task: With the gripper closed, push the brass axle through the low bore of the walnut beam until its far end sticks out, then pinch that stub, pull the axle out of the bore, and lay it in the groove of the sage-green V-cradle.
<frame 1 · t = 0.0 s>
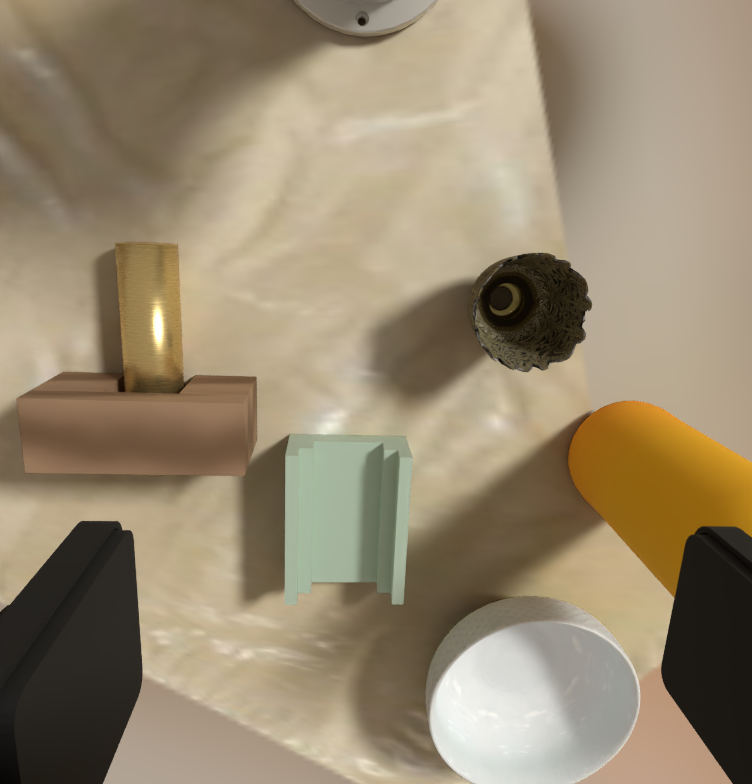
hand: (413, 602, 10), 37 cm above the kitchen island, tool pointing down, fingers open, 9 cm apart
beer bottle: (619, 451, 51), on the kitchen island
v block: (345, 505, 50), on the kitchen island
axle: (153, 359, 44), point 2 cm above the kitchen island
cereal bowl: (510, 650, 55), on the kitchen island
beam: (162, 406, 47), on the kitchen island
cup: (500, 297, 46), on the kitchen island
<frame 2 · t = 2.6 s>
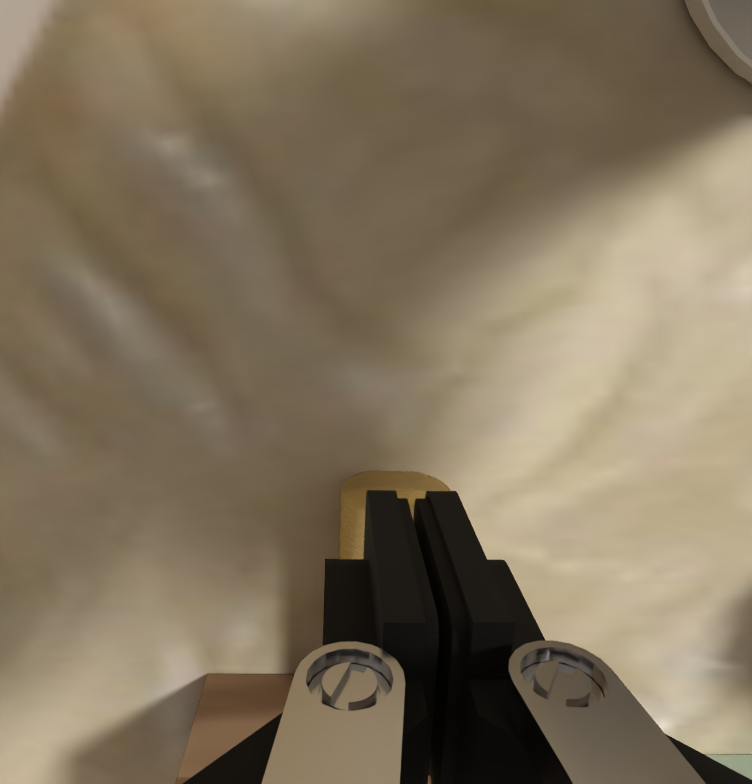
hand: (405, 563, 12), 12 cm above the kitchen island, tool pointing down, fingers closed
axle: (386, 674, 25), point 2 cm above the kitchen island, tilted 12°
beam: (369, 721, 28), on the kitchen island
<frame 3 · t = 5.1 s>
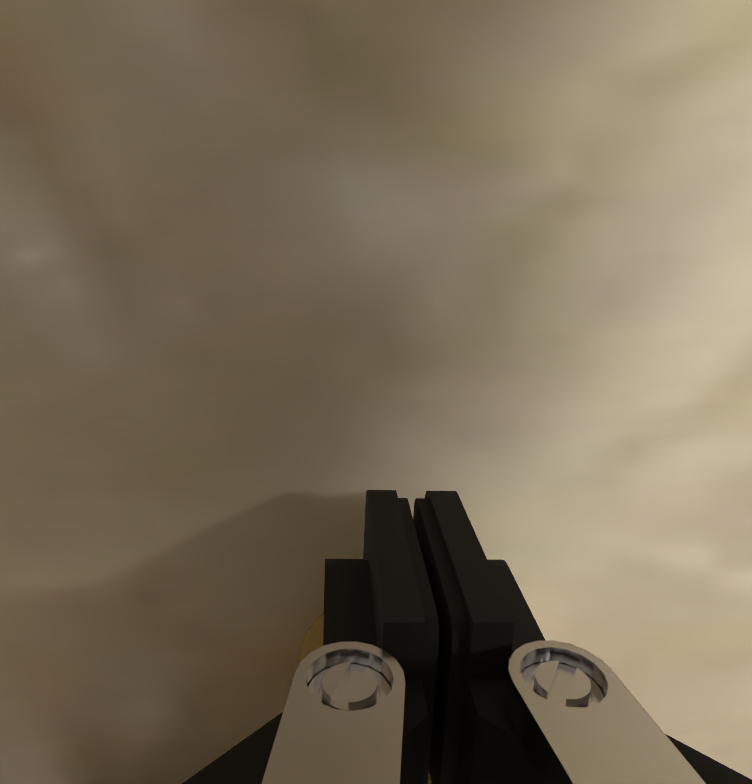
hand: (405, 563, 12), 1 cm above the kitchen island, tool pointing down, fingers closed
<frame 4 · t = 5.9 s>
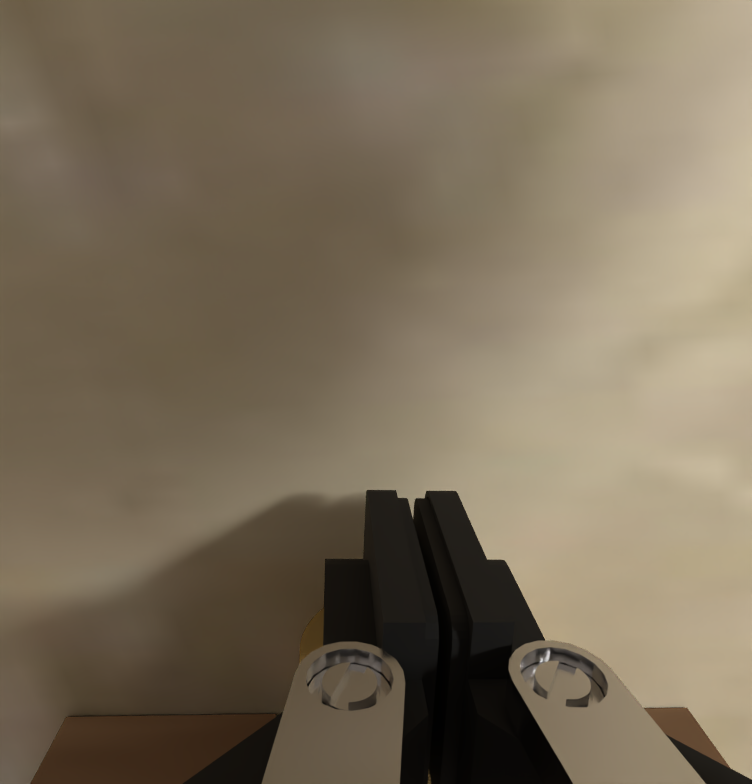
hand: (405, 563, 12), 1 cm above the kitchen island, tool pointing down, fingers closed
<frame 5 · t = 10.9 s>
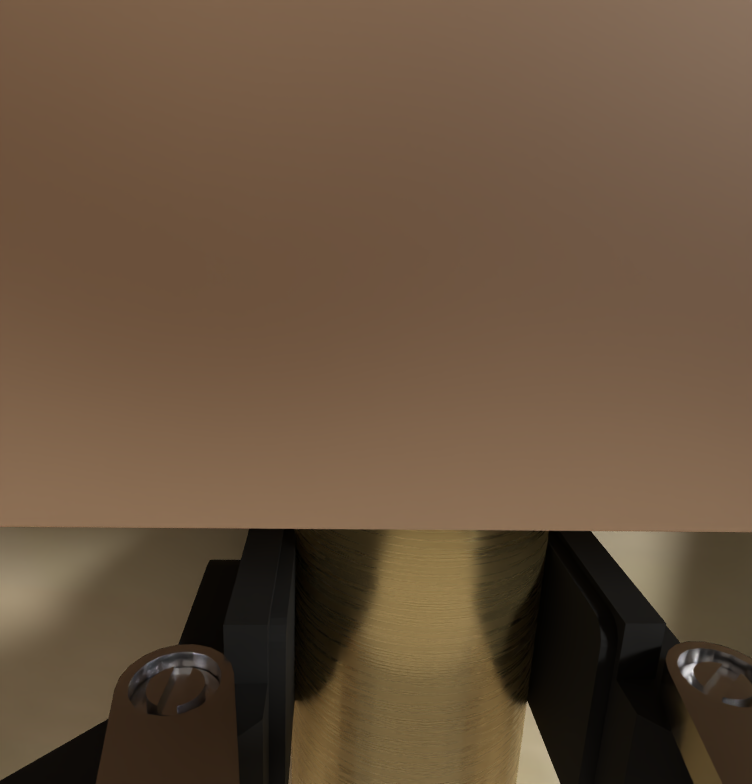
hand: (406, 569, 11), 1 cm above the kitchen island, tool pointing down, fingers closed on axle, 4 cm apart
axle: (429, 373, 9), point 2 cm above the kitchen island, tilted 7°, touching gripper
beam: (424, 195, 11), on the kitchen island
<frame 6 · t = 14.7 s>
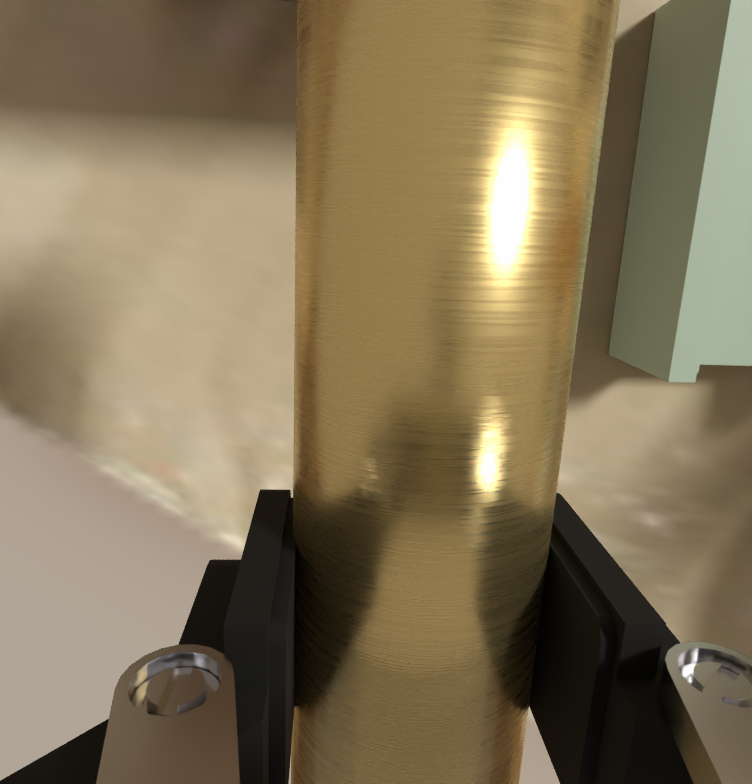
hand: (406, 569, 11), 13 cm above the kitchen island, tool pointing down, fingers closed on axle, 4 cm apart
v block: (747, 199, 23), on the kitchen island
axle: (430, 366, 9), point 14 cm above the kitchen island, tilted 7°, touching gripper
when the fingers open (5 cm above the kitchen island, at t = 18.4 s): axle drops 3 cm, resting on v block.
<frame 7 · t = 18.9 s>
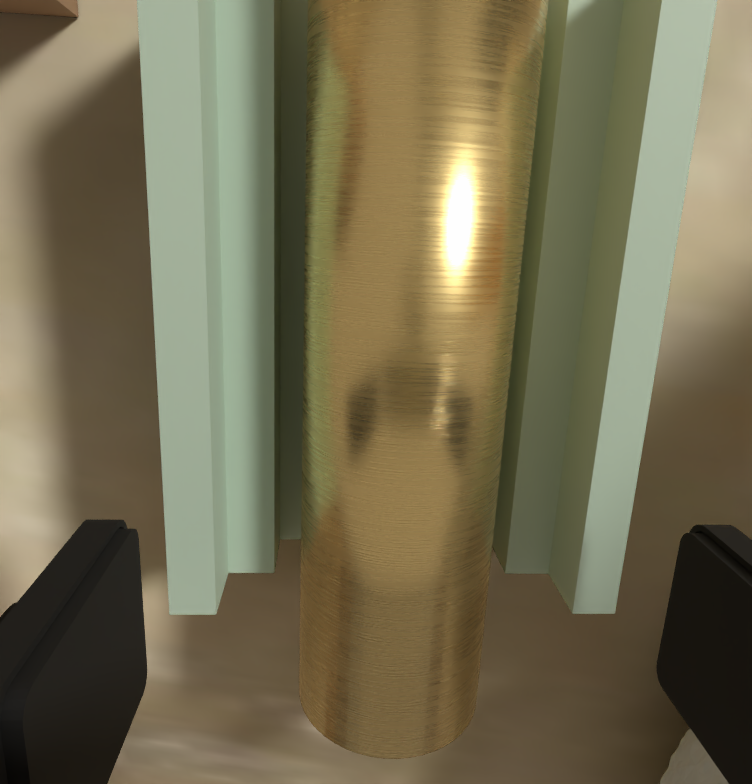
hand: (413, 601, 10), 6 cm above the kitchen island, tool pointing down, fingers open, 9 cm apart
v block: (392, 289, 15), on the kitchen island
axle: (407, 339, 12), point 3 cm above the kitchen island, tilted 7°, touching v block
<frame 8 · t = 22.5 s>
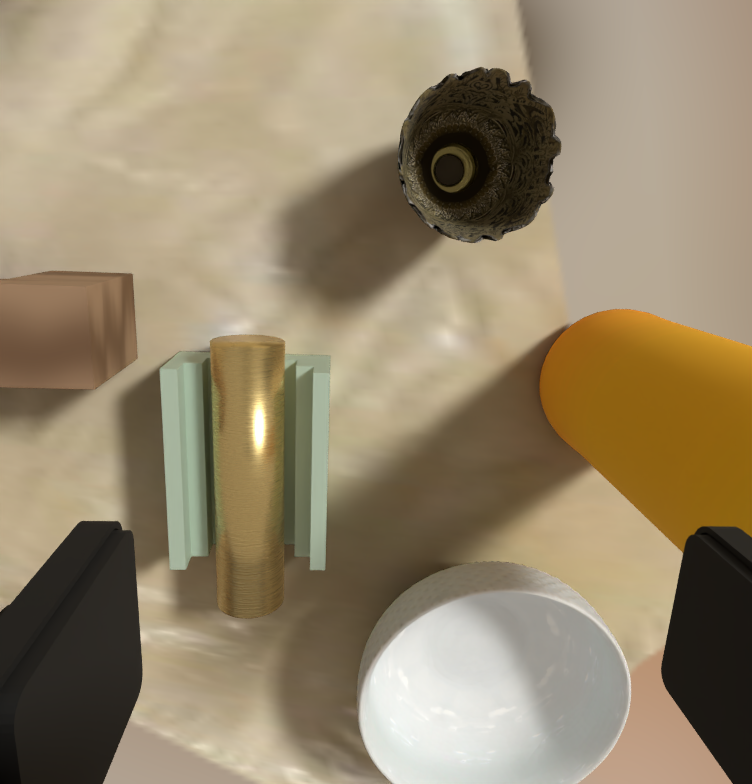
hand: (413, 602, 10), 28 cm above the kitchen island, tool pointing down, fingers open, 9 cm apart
beer bottle: (604, 377, 40), on the kitchen island
v block: (256, 446, 39), on the kitchen island
axle: (249, 477, 36), point 3 cm above the kitchen island, tilted 7°, touching v block
cereal bowl: (471, 633, 44), on the kitchen island
beam: (11, 312, 36), on the kitchen island
cup: (448, 170, 36), on the kitchen island
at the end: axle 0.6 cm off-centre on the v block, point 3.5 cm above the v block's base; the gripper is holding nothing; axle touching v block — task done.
